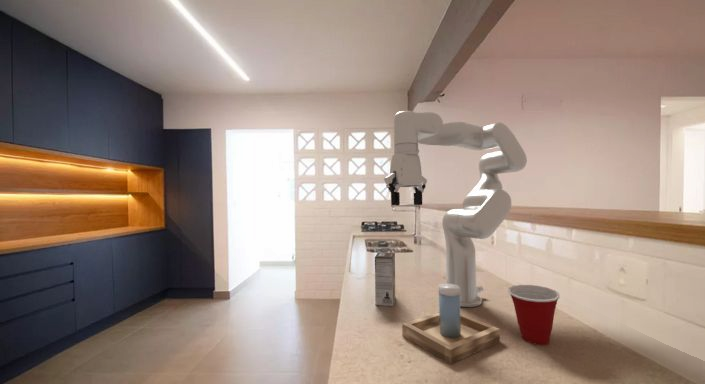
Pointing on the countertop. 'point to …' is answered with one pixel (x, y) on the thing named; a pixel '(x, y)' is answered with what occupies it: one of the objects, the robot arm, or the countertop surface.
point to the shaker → (449, 310)
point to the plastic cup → (534, 311)
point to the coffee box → (385, 278)
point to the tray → (451, 349)
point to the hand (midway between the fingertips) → (407, 205)
